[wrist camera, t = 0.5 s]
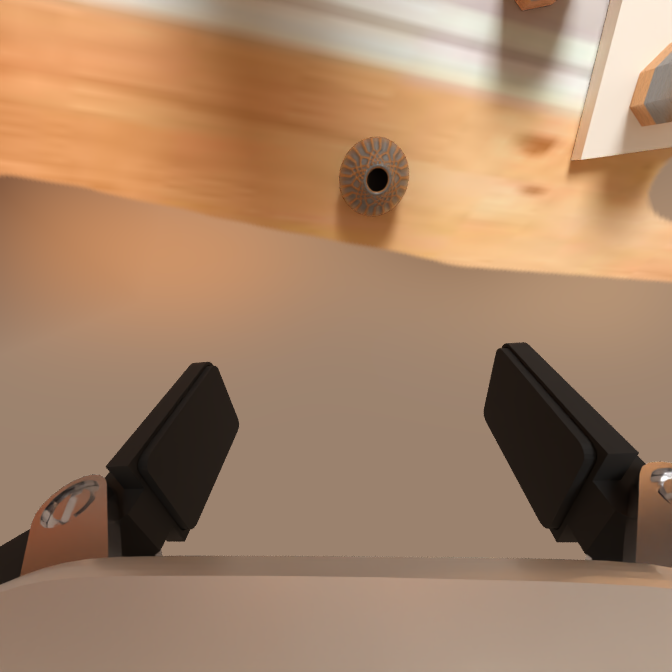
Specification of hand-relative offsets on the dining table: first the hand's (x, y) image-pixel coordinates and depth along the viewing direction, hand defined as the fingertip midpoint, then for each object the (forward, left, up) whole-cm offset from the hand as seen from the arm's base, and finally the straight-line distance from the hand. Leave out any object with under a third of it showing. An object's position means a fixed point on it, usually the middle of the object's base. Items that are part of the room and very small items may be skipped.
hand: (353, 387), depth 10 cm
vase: (-5, +3, -29) cm, 30 cm away
